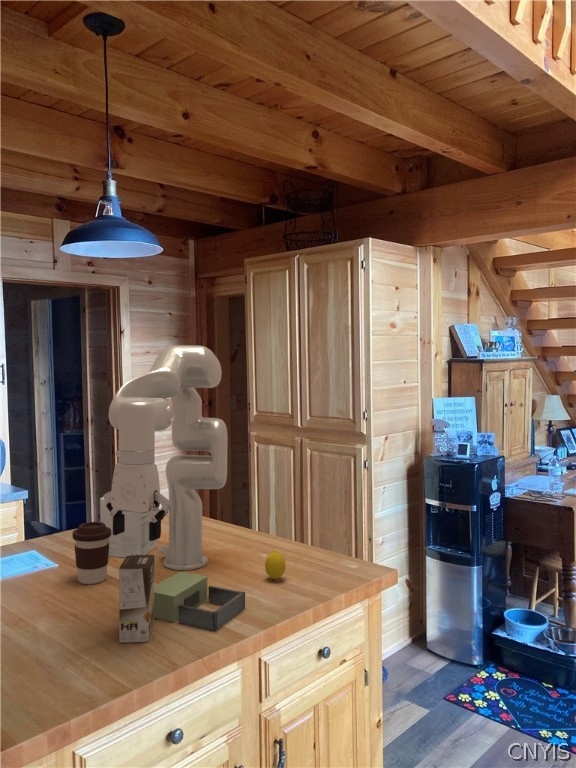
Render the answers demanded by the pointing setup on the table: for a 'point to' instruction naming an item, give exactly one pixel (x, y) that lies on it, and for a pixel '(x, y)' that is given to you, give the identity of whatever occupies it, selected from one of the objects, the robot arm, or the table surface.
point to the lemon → (275, 565)
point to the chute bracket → (214, 620)
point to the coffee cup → (91, 551)
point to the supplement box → (128, 533)
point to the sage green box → (178, 594)
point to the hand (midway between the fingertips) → (136, 536)
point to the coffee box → (136, 598)
